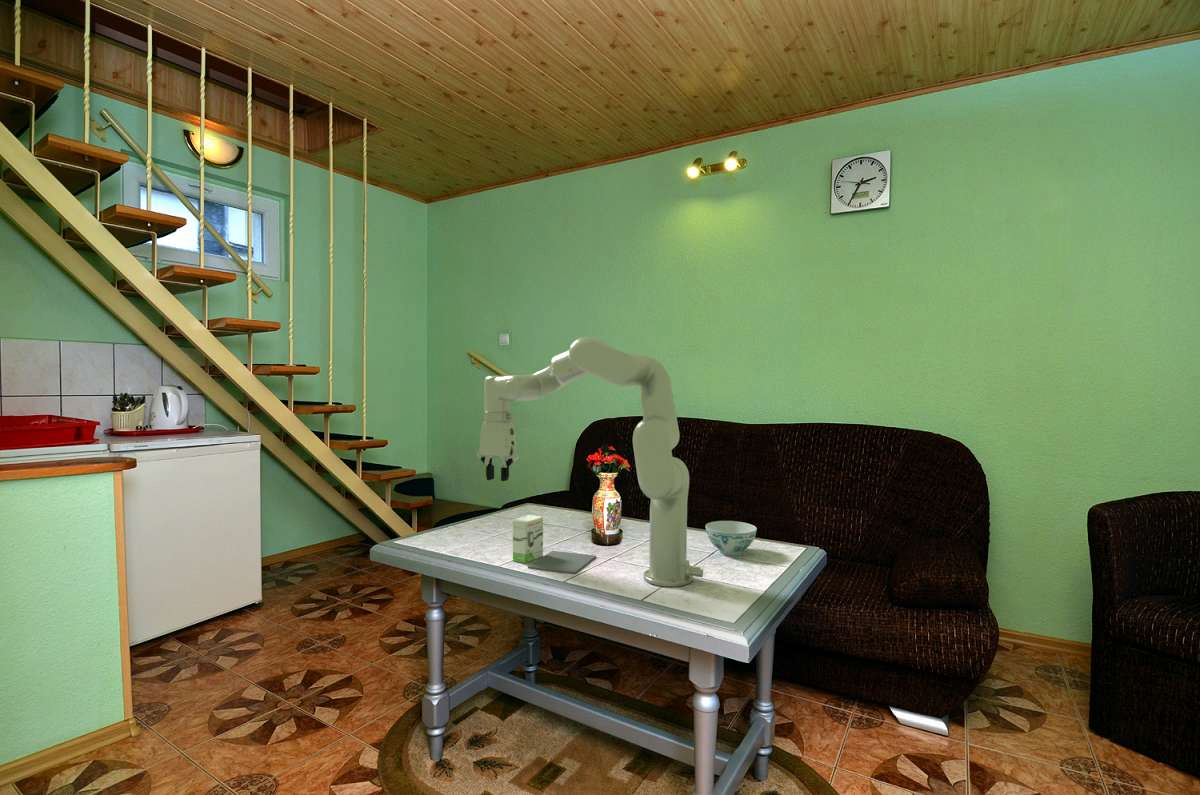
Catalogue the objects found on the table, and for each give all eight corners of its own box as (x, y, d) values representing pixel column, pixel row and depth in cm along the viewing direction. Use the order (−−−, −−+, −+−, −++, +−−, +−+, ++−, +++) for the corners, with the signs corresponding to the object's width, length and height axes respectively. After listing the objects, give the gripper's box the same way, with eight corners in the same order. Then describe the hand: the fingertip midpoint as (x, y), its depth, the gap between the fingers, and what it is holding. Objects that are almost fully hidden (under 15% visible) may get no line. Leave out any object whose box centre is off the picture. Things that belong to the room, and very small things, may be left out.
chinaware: (711, 560, 168) (711, 533, 168) (700, 545, 183) (700, 521, 183) (763, 559, 168) (763, 533, 168) (748, 545, 183) (748, 520, 183)
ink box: (525, 563, 164) (525, 522, 164) (511, 561, 167) (511, 519, 166) (543, 556, 172) (543, 516, 171) (530, 553, 174) (530, 514, 174)
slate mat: (596, 557, 170) (596, 555, 170) (574, 574, 155) (574, 572, 155) (552, 552, 175) (552, 550, 175) (527, 568, 160) (527, 566, 160)
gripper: (528, 417, 172) (529, 479, 173) (479, 416, 178) (479, 476, 178) (516, 419, 165) (516, 484, 166) (465, 417, 171) (465, 480, 171)
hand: (497, 479), depth 172 cm, fingers open, 4 cm apart
